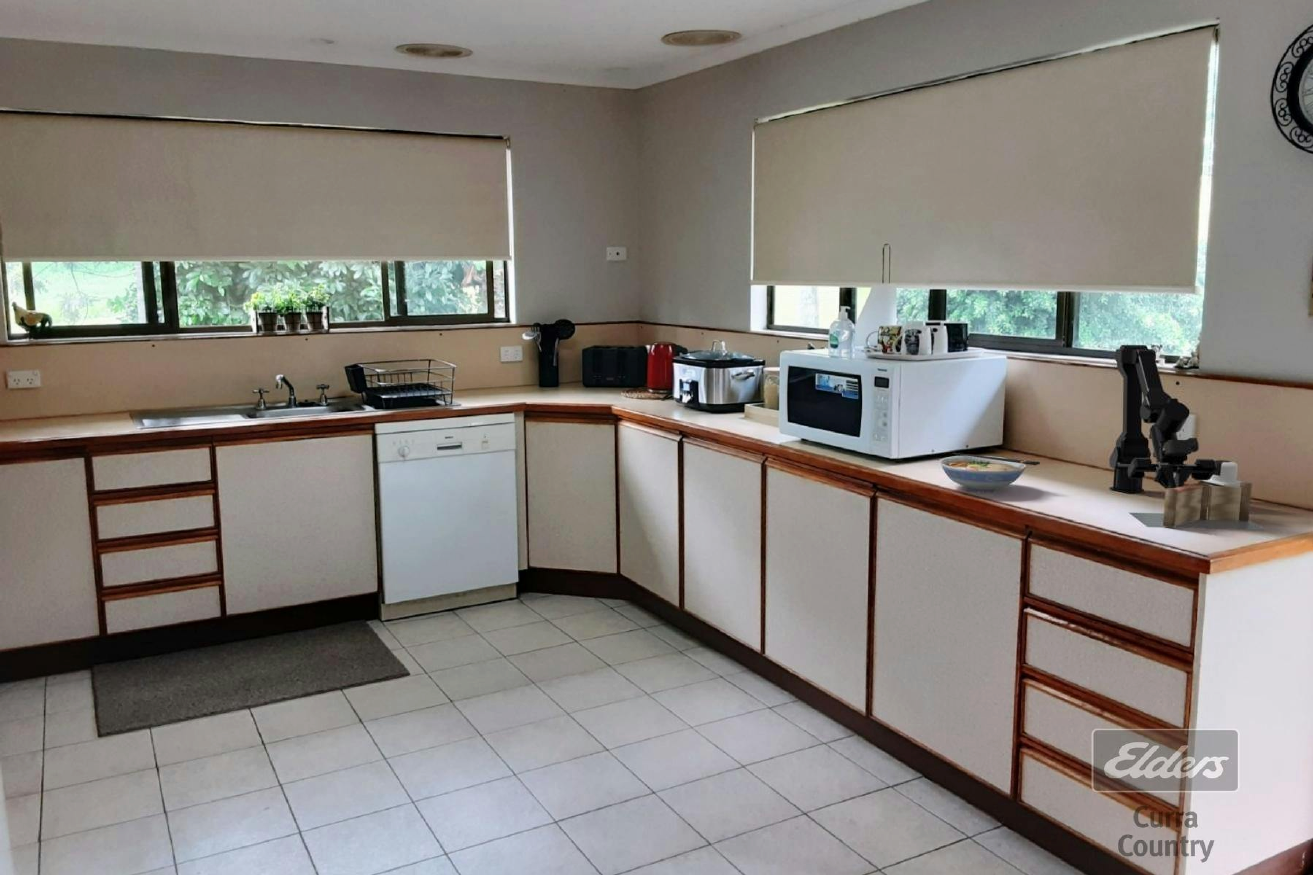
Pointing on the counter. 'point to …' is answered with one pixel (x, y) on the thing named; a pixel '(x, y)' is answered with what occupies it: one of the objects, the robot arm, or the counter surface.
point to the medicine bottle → (1224, 475)
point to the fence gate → (1182, 504)
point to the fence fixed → (1225, 502)
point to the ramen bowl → (983, 471)
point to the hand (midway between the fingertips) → (1178, 499)
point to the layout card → (1195, 522)
